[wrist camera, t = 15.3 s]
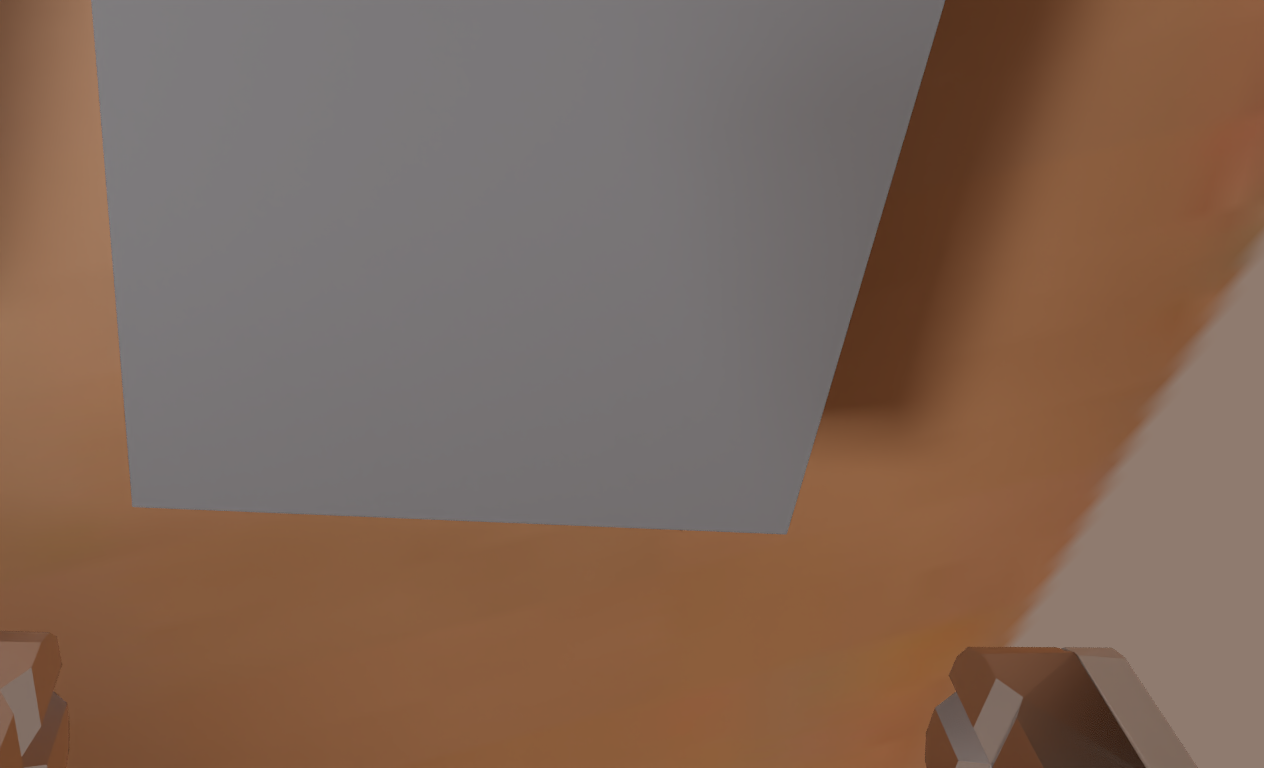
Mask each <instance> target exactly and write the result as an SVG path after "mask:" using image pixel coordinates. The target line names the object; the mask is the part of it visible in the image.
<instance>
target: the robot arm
mask: <svg viewBox="0 0 1264 768" xmlns="http://www.w3.org/2000/svg"><path fill="white" fill-rule="evenodd" d="M61 667H62V662H61V656H60V650H59V645H58V639H57V636H55V635H53V634H51V633H48V632H22V631H0V768H66V766H67V760H68V754H69V727H70V724H69V715H68V706H67V703H66V702H65V701H64V700H63V699H62V698H61V697H59V696H58V695H57V694H56V693H55V692H54V691H53V690H54V687H55V684H56V682H57V679H58V676H59V673H60V670H61ZM949 677H950V679H951V681H952V684H953V686H954V688H955V690H956V692H955V693H954V694H952V695H951V696H950V697H949V698H947V699H946V700H945V701H943V702H942V703H941V704H939V705H938V706H937V707H935V709H934V712H933V714H932V717H931V720H930V723H929V725H928V728H927V731H926V745H925V763H926V768H1198V767H1197V766H1196V764H1195V763H1194V761H1193V760H1192V758H1191V757H1190V755H1189V754H1188V752H1187V751H1186V749H1185V748H1184V746H1183V745H1182V743H1181V742H1180V740H1179V739H1178V737H1177V736H1176V734H1175V733H1174V731H1173V730H1172V728H1171V727H1170V725H1169V723H1168V722H1167V720H1166V719H1165V717H1164V716H1163V715H1162V713H1161V711H1160V710H1159V708H1158V707H1157V705H1156V704H1155V702H1154V701H1153V700H1152V698H1151V696H1150V695H1149V693H1148V692H1147V690H1146V689H1145V687H1144V686H1143V684H1142V683H1141V681H1140V680H1139V678H1138V677H1137V675H1136V674H1135V672H1134V671H1133V669H1132V668H1131V666H1130V665H1129V663H1128V662H1127V660H1126V659H1125V658H1124V657H1123V656H1122V655H1121V654H1120V653H1118V652H1117V651H1116V650H1114V649H1113V648H1070V647H1065V648H1062V649H1060V648H1056V647H967V648H966V649H965V650H964V651H963V652H962V653H960V654H959V655H958V656H957V658H956V660H955V662H954V664H953V667H952V669H951V671H950V673H949Z"/></svg>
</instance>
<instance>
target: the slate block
mask: <svg viewBox="0 0 1264 768" xmlns="http://www.w3.org/2000/svg"><path fill="white" fill-rule="evenodd" d="M91 2H92V14H93V27H94V39H95V51H96V64H97V76H98V89H99V101H100V113H101V126H102V138H103V150H104V163H105V175H106V187H107V200H108V212H109V224H110V237H111V249H112V261H113V274H114V286H115V298H116V311H117V323H118V335H119V348H120V360H121V372H122V385H123V397H124V409H125V422H126V434H127V446H128V459H129V471H130V483H131V496H132V507H146V508H170V509H194V510H218V511H241V512H265V513H289V514H313V515H337V516H360V517H384V518H408V519H432V520H456V521H480V522H503V523H527V524H551V525H575V526H599V527H622V528H646V529H670V530H694V531H718V532H742V533H765V534H787V531H788V528H789V525H790V521H791V518H792V514H793V511H794V508H795V504H796V501H797V498H798V494H799V491H800V488H801V484H802V481H803V477H804V474H805V471H806V467H807V464H808V461H809V457H810V454H811V451H812V447H813V444H814V440H815V437H816V434H817V430H818V427H819V424H820V420H821V417H822V414H823V410H824V407H825V403H826V400H827V397H828V393H829V390H830V387H831V383H832V380H833V377H834V373H835V370H836V366H837V363H838V360H839V356H840V353H841V350H842V346H843V343H844V339H845V336H846V333H847V329H848V326H849V323H850V319H851V316H852V313H853V309H854V306H855V302H856V299H857V296H858V292H859V289H860V286H861V282H862V279H863V276H864V272H865V269H866V265H867V262H868V259H869V255H870V252H871V249H872V245H873V242H874V239H875V235H876V232H877V228H878V225H879V222H880V218H881V215H882V212H883V208H884V205H885V202H886V198H887V195H888V191H889V188H890V185H891V181H892V178H893V175H894V171H895V168H896V165H897V161H898V158H899V154H900V151H901V148H902V144H903V141H904V138H905V134H906V131H907V128H908V124H909V121H910V117H911V114H912V111H913V107H914V104H915V101H916V97H917V94H918V91H919V87H920V84H921V80H922V77H923V74H924V70H925V67H926V64H927V60H928V57H929V53H930V50H931V47H932V43H933V40H934V37H935V33H936V30H937V27H938V23H939V20H940V16H941V13H942V10H943V6H944V3H945V0H91Z"/></svg>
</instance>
